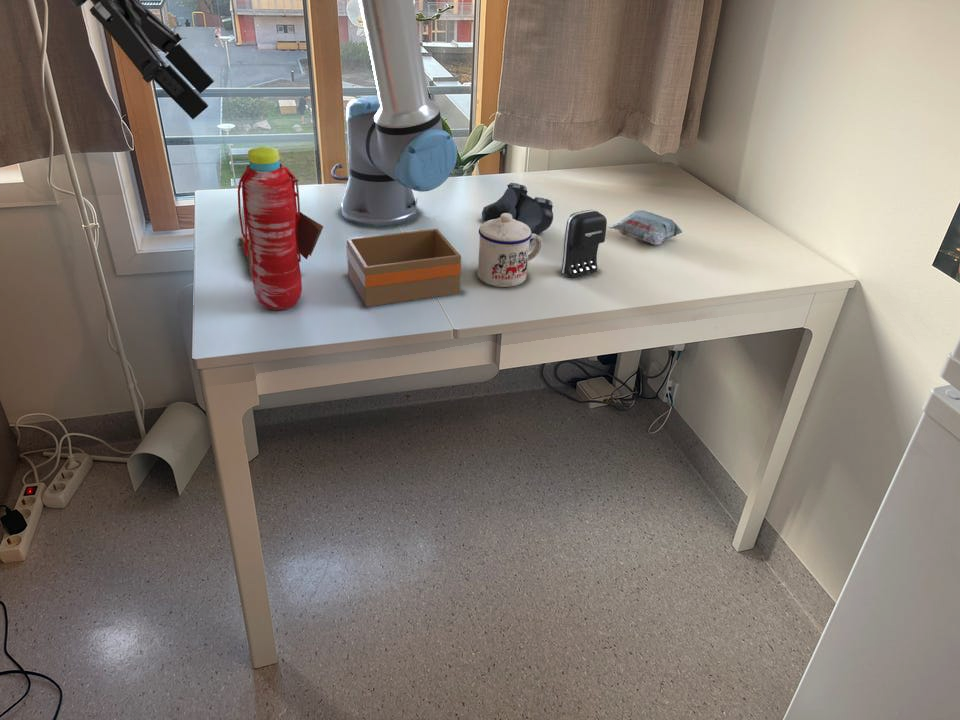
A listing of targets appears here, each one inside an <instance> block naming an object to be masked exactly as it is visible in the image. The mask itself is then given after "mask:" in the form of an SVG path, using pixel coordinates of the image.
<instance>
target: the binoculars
mask: <svg viewBox="0 0 960 720" xmlns="http://www.w3.org/2000/svg"><path fill="white" fill-rule="evenodd" d="M553 203H554V202H553V201H552V200H551V199H548V198H544V197H538V196H536V197H535V196H534V198H533V197H532V196H529V195H528V187H526V185H523V184H520V183H516V182H509V184H507V188H506V190H504V193H503V195H502V196H501V197H500V198H499V199H497V200H496V201H494V202H493V203H490V204H488V205H485V206H484V207H483V208H482V211H481V220H482V221H483V223H484V222H486V221H489V220H493V219H497V218H500V217H501V215H502V214H503V213H509V214H511V215H512V219H515V220H516V221H520V222H522V223H524V224H526V225H527V226H528V227H529V228H530V230H531V233H532V234H536V235H538V236H539V237H540V235H541V234H542V233H543V232H545V231H547V230H548V229H549V228H550V227H551V225H552V224H553V220H554V212H553V207H554V205H553ZM534 240H535V239H530V243H529V244H531V243H532V242H533V241H534Z"/></svg>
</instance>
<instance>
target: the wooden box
mask: <svg viewBox="0 0 960 720" xmlns="http://www.w3.org/2000/svg"><path fill="white" fill-rule="evenodd" d="M345 246H346V258H347V271H348V272H347V273H348V275H347V277H349V279H350V282H351V283H352V284H353V286H354V288H355V290H356V292H357V293H358V296H359V297H360V299H361V301H362V302H363V304H364V306H365V307H366V308H369V307H376V306H383V305H390V304H398V303H403V302H411V301H418V300H425V299H431V298H438V297H444V296H445V297H446V296H451V295H459V294H460V293H461V274H462V255H461V254H460V253H459V251H458V250H457V249H456V248H455V247H454V245H452V243H450V241H449V240H448V239H447V238H446V236H444V235H443V234H442V232H441V231H440V230H439V229H438V228H429V229H421V230H411V231H404V232H393V233H387V234H385V233H384V234H376V235H369V236H367V235H366V236H360V237H350V238H346V245H345Z"/></svg>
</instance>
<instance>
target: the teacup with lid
mask: <svg viewBox="0 0 960 720" xmlns="http://www.w3.org/2000/svg"><path fill="white" fill-rule="evenodd" d="M478 235H479V241H478V242H479V243H478V244H479V245H478V258H477V260H478V262H477V277H478V279H480V281H481V282H483V283H485V284H487V285H489V286H493V287H498V288H510V287H515V286H516V287H517V286H519V285H521V284H523V283H524V282H525V281H526V279H527V272H528V262H530V261H533V260H534V259H535V258H536V257H537V256H538V254H539V253H540V251H541V249H542V246H543V245H542V244H543V243H542V242H543V241H542V238H541V237H540V235H539V236H538V235H536V234H532V233H531V230H530V228H529V227H528V226H527V225H526V224H524V223H522V222H520V221H516V220H515V219H512V215H511V214H509V213H503V214H502V215H501V217H500V218H497V219H493V220H489V221H486V222H484V221H483V223H482V224H481V225H480V226H479V229H478ZM530 239H534V240H535V245H534V248H533V250H532V251H531V252H530V244H531V243H530ZM529 252H530V253H529Z"/></svg>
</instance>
